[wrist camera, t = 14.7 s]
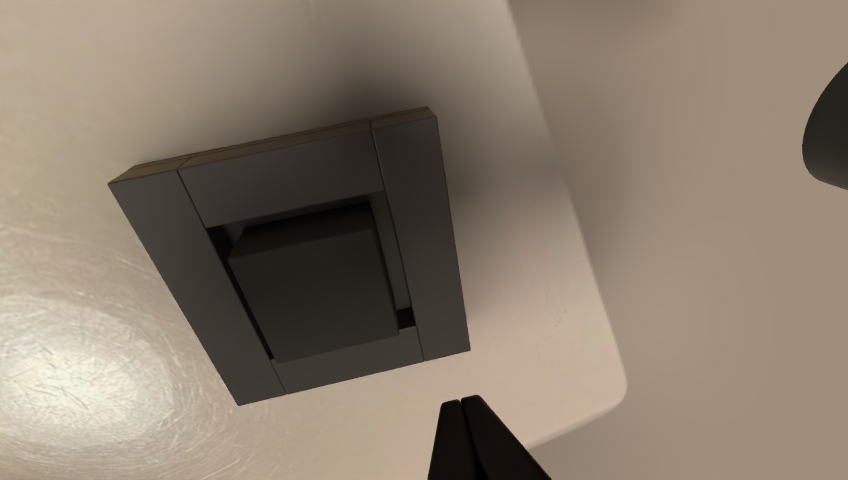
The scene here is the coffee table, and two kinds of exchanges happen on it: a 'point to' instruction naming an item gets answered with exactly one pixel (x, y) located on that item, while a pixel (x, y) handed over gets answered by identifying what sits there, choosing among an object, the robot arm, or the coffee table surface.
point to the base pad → (295, 196)
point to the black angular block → (316, 281)
